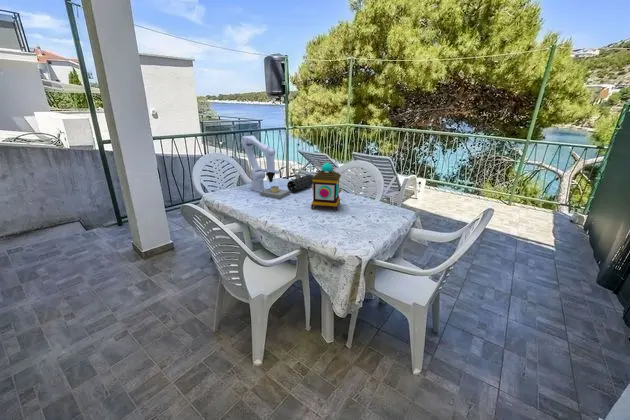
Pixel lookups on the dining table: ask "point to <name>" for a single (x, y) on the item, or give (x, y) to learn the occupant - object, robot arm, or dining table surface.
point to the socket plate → (277, 195)
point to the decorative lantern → (326, 188)
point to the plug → (274, 189)
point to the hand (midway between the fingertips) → (270, 181)
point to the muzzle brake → (300, 183)
